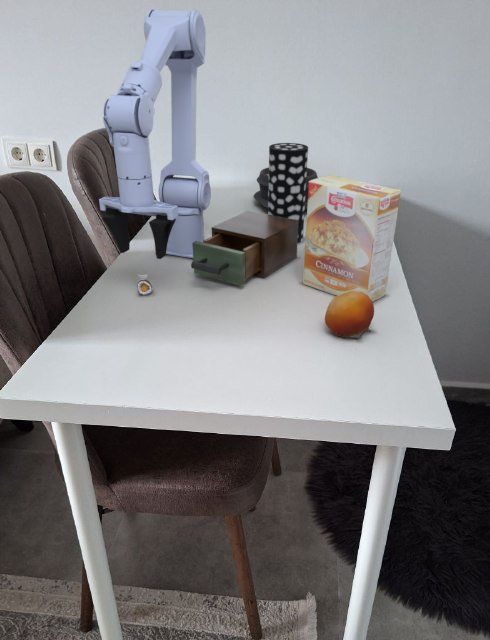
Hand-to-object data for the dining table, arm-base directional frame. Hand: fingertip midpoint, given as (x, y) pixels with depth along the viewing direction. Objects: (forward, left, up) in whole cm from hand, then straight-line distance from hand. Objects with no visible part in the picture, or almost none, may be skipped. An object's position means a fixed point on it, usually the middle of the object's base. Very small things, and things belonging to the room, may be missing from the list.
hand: (143, 254), depth 104 cm
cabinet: (+13, +23, -8) cm, 27 cm away
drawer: (+11, +13, -7) cm, 19 cm away
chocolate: (0, 0, -8) cm, 8 cm away
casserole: (+5, +66, -8) cm, 67 cm away
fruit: (+39, 0, -8) cm, 40 cm away
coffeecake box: (+34, +16, -8) cm, 38 cm away
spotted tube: (+14, +39, -8) cm, 42 cm away
